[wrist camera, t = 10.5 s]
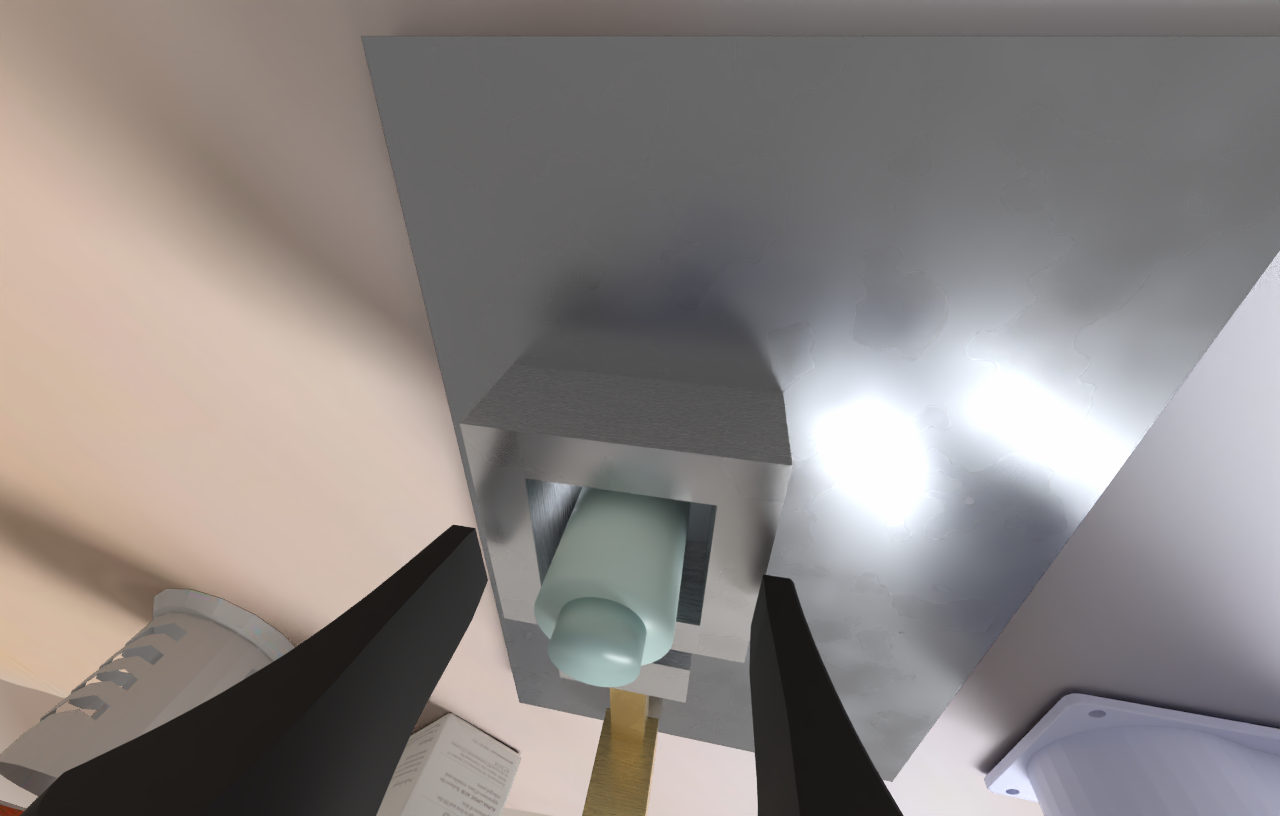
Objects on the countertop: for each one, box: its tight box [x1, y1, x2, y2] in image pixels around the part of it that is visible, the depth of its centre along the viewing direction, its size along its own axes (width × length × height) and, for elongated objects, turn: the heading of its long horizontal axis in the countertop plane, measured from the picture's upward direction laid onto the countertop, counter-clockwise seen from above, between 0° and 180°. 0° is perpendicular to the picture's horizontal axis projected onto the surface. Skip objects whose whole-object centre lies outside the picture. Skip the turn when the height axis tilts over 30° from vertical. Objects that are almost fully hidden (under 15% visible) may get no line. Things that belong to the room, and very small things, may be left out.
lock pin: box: [582, 688, 659, 816], centre depth 19 cm, size 2×10×4 cm, turn 179°
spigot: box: [534, 487, 691, 687], centre depth 12 cm, size 3×3×6 cm
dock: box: [361, 36, 1280, 782], centre depth 15 cm, size 18×27×4 cm, turn 179°
